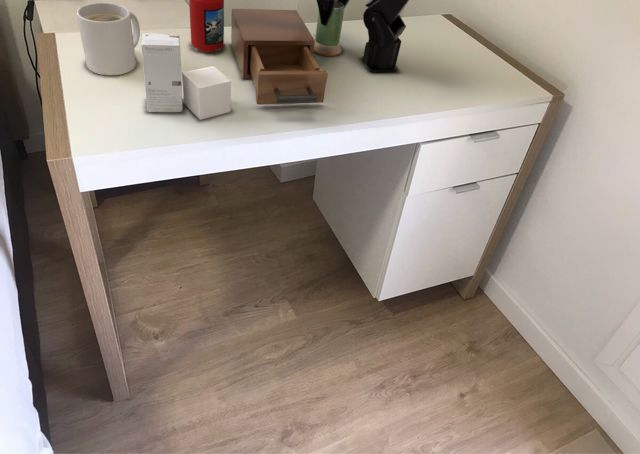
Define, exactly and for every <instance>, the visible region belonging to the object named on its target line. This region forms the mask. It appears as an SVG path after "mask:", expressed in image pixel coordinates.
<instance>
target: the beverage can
mask: <svg viewBox="0 0 640 454" xmlns="http://www.w3.org/2000/svg"><path fill="white" fill-rule="evenodd" d="M188 2H189V3H188V4H189V5H188V6H189V7H188V8H189V26H190V29H189V30H190V43H191V46H193V47H194V48H195V49H197V50H198V51H201V52H204V53H215V52H218V51H219V50H220V49H222V48H223V47H224V44H225V0H189V1H188Z"/></svg>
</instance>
